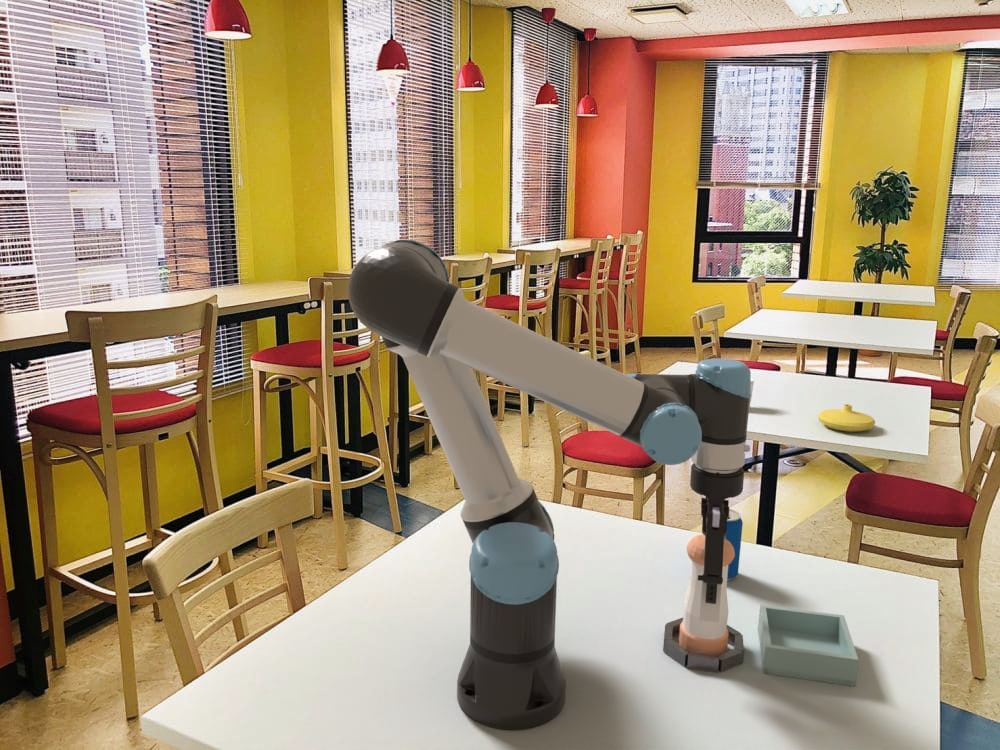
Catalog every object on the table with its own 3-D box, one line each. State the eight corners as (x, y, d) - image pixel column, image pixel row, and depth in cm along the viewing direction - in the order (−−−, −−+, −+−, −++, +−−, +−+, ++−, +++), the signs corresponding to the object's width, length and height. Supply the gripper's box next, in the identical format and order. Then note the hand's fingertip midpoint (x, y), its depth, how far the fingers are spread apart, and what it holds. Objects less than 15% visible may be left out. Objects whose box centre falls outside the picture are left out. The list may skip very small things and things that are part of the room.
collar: (744, 676, 119) (745, 664, 119) (661, 664, 122) (662, 652, 122) (740, 634, 130) (741, 622, 130) (665, 623, 133) (666, 612, 133)
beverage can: (697, 577, 149) (702, 516, 146) (706, 563, 154) (711, 504, 152) (733, 586, 146) (739, 523, 143) (741, 571, 151) (746, 511, 149)
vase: (881, 438, 233) (884, 414, 231) (823, 434, 235) (825, 410, 234) (865, 422, 248) (868, 400, 247) (811, 419, 251) (814, 397, 249)
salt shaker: (691, 630, 131) (700, 519, 127) (734, 647, 127) (745, 532, 122) (670, 650, 126) (678, 534, 121) (714, 668, 121) (724, 549, 117)
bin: (854, 686, 117) (858, 659, 116) (763, 673, 120) (766, 646, 119) (840, 639, 129) (844, 615, 128) (757, 628, 132) (760, 604, 131)
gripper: (749, 499, 107) (737, 644, 112) (740, 441, 130) (731, 563, 135) (690, 493, 108) (681, 637, 113) (692, 437, 132) (685, 558, 137)
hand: (708, 597), depth 124 cm, fingers open, 13 cm apart
